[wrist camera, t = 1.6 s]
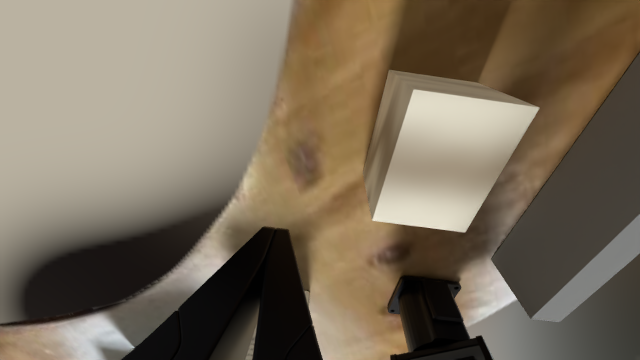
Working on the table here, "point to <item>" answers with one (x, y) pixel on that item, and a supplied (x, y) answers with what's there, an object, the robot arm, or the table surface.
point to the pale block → (439, 149)
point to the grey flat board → (581, 213)
